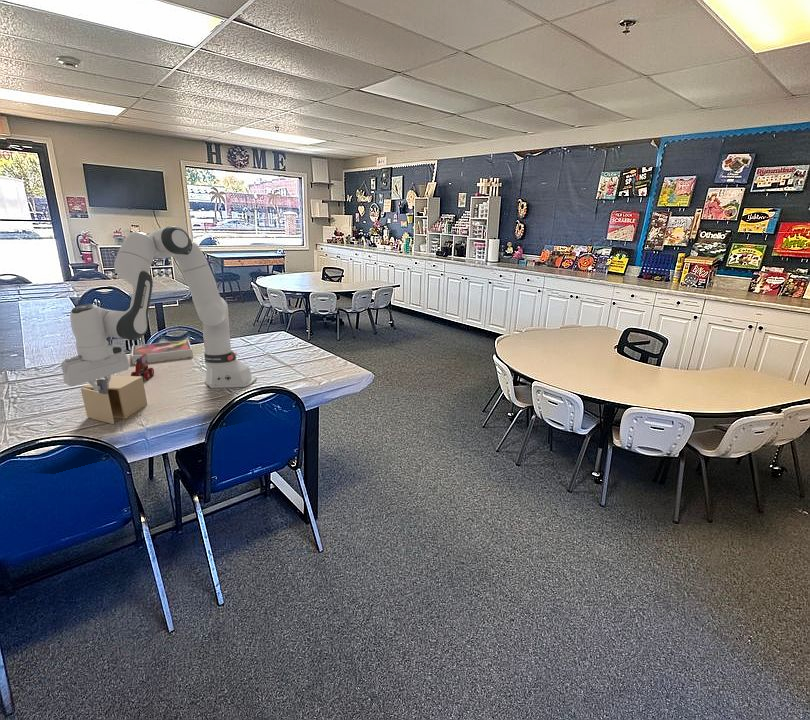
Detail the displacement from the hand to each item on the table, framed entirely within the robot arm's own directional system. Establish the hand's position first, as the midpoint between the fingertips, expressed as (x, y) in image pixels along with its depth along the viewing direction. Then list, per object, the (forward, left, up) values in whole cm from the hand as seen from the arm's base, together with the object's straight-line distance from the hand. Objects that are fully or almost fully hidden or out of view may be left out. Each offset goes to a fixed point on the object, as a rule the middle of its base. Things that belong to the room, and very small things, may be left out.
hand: (101, 389), depth 150 cm
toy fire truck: (+18, -47, -14) cm, 52 cm away
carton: (+4, -11, -14) cm, 18 cm away
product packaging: (+30, -82, -14) cm, 88 cm away
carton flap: (+5, -2, -13) cm, 14 cm away
